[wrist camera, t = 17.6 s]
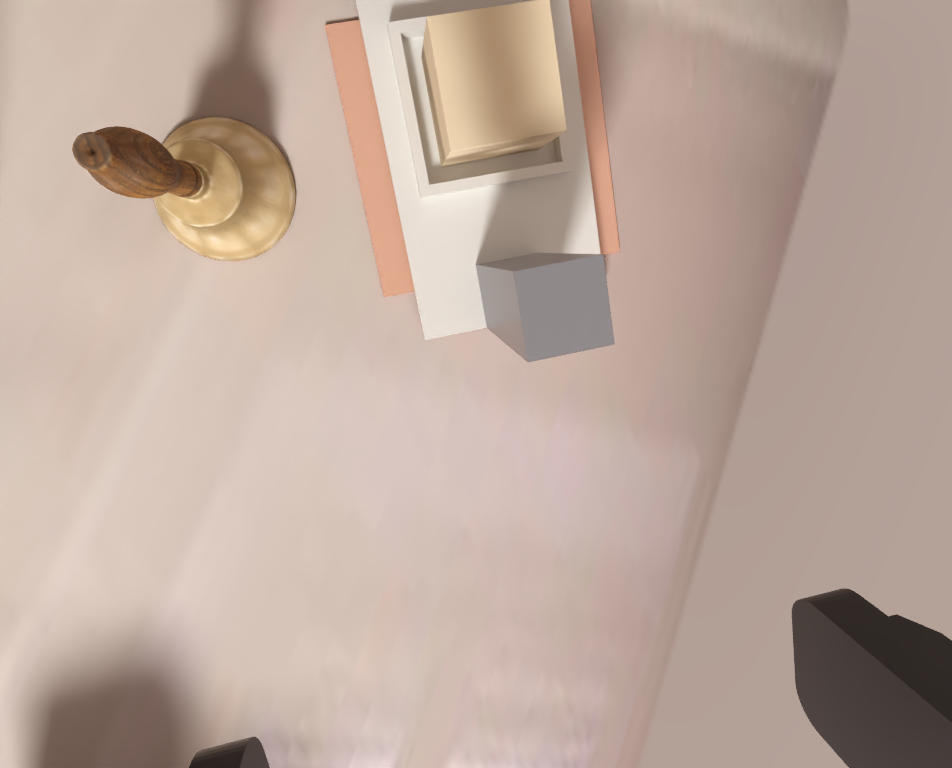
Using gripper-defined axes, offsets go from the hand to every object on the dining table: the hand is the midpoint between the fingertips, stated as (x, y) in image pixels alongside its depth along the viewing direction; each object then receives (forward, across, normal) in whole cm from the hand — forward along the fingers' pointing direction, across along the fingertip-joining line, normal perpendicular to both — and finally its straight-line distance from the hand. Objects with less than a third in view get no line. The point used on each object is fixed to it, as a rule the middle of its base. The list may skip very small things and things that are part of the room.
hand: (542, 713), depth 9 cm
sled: (+31, -6, -11) cm, 34 cm away
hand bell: (+32, +10, -12) cm, 36 cm away
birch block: (+30, -6, -14) cm, 34 cm away
